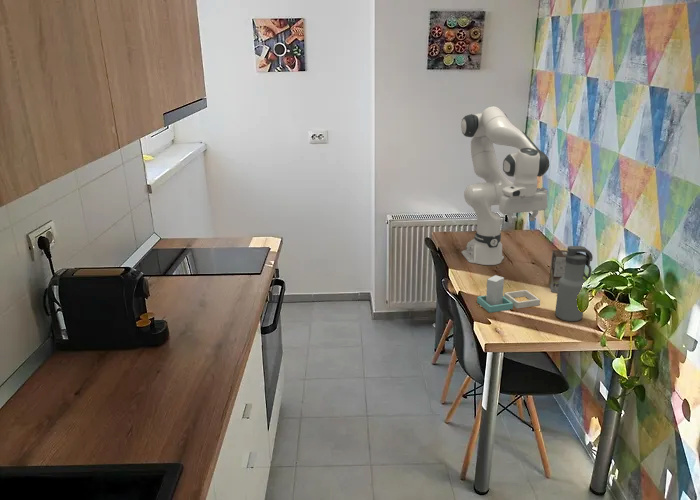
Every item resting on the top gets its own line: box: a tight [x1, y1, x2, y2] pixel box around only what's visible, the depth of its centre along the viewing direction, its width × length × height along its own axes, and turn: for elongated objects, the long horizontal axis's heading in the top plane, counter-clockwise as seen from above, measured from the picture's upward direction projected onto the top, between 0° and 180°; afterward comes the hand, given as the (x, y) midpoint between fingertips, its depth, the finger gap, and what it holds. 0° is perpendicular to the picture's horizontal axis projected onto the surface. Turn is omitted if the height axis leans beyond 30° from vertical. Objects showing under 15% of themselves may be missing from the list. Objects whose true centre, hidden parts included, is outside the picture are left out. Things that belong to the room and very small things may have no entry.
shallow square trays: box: [476, 289, 541, 313], centre depth 218 cm, size 10×22×2 cm, turn 105°
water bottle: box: [554, 245, 593, 322], centre depth 202 cm, size 10×10×28 cm
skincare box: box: [485, 274, 505, 306], centre depth 214 cm, size 6×4×12 cm
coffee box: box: [548, 249, 568, 293], centre depth 228 cm, size 9×6×16 cm
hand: (521, 221), depth 222 cm, fingers open, 8 cm apart
